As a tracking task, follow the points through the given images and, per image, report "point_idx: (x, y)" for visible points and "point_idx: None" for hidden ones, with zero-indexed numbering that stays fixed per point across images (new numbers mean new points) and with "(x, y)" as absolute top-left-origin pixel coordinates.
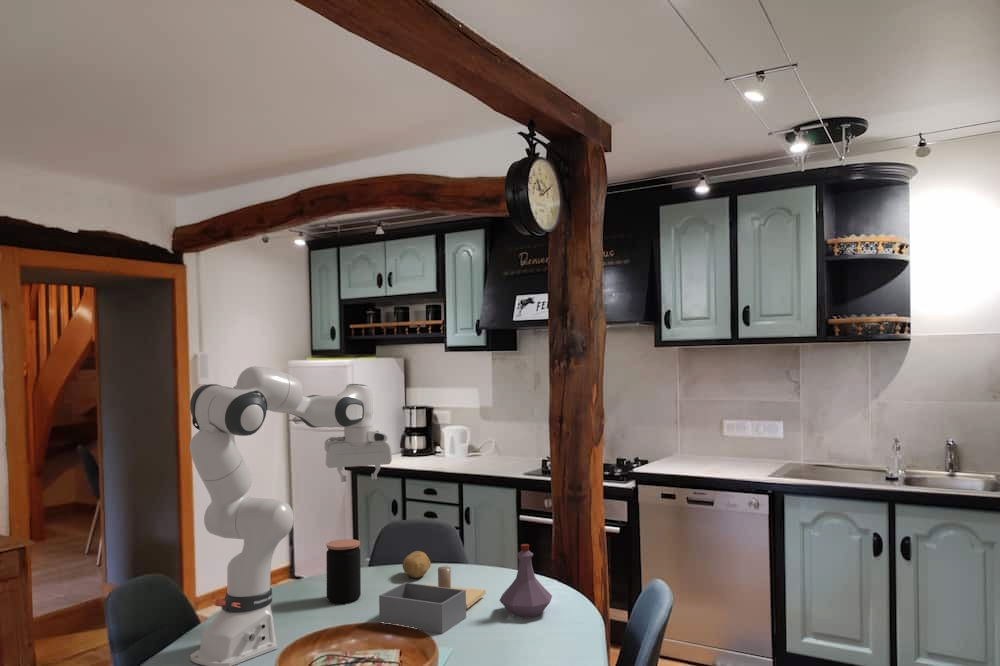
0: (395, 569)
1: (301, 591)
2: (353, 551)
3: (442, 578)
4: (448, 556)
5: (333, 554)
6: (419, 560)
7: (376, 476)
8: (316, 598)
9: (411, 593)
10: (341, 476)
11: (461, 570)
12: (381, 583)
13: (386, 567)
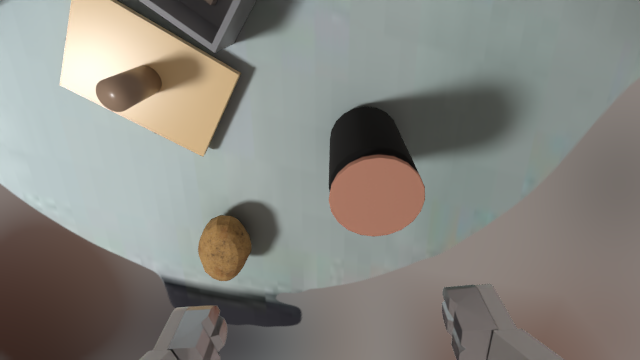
0: (271, 272)
1: (437, 201)
2: (348, 162)
3: (127, 75)
4: None
5: (404, 155)
6: (211, 235)
7: (167, 327)
8: (414, 156)
9: (205, 31)
10: (514, 331)
11: (155, 244)
12: (292, 211)
13: (286, 284)
